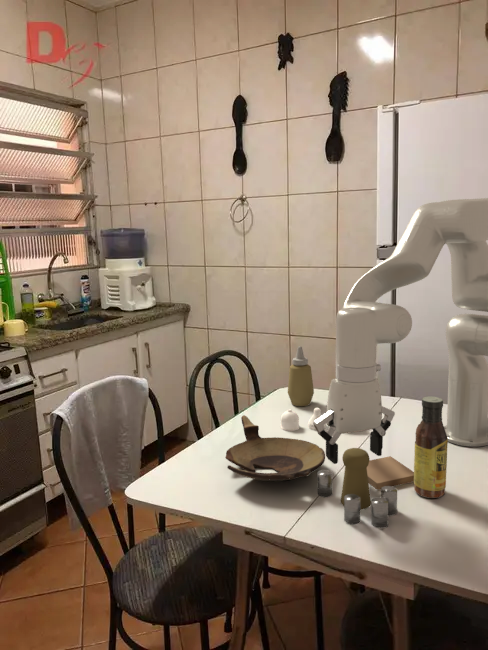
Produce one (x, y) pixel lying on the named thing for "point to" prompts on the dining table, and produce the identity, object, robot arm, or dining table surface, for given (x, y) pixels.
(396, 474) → the walnut board
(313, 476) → the dining table surface
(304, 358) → the squeeze bottle
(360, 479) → the olive pawn
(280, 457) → the broken ceramic bowl
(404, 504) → the dining table surface
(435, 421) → the sauce bottle
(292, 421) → the container set
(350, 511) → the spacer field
